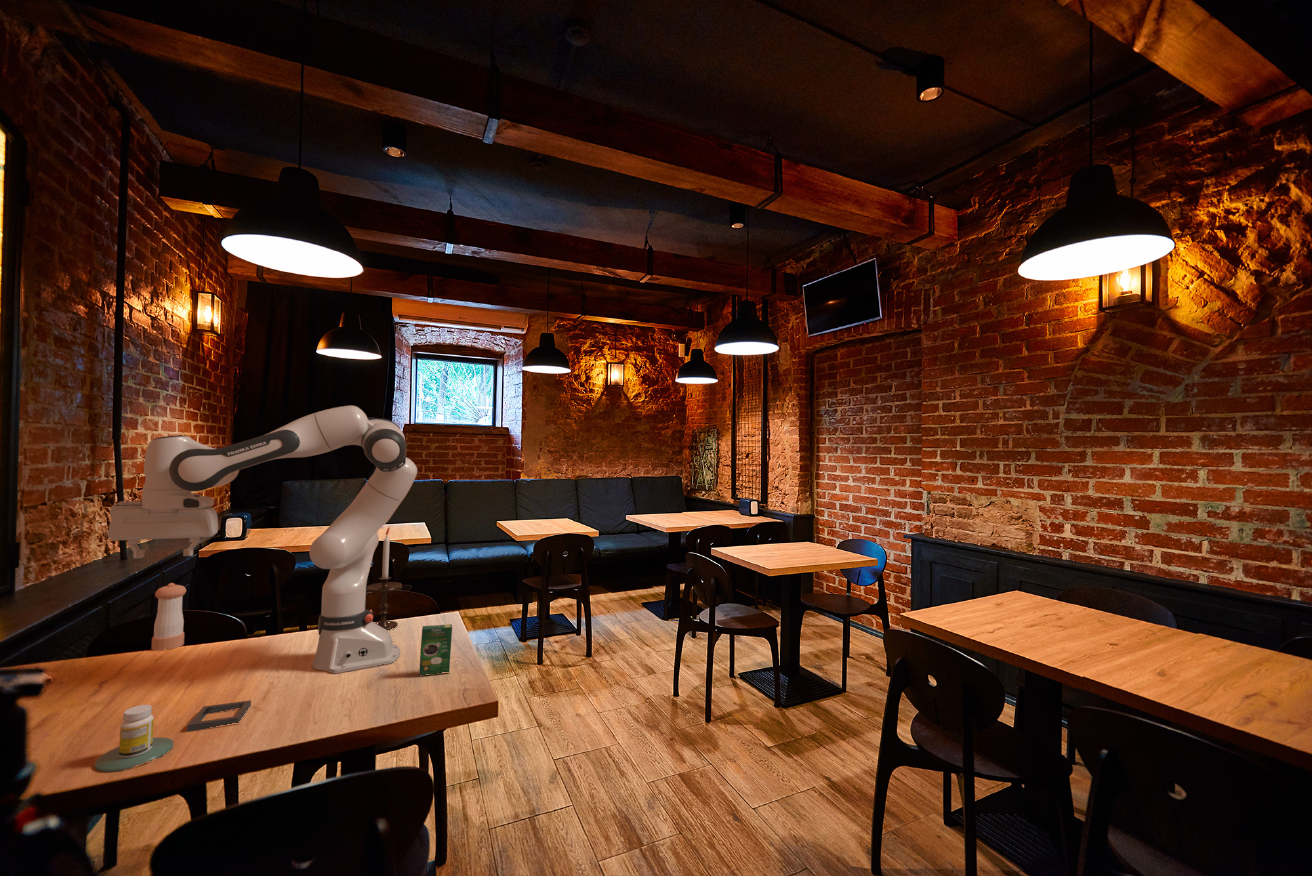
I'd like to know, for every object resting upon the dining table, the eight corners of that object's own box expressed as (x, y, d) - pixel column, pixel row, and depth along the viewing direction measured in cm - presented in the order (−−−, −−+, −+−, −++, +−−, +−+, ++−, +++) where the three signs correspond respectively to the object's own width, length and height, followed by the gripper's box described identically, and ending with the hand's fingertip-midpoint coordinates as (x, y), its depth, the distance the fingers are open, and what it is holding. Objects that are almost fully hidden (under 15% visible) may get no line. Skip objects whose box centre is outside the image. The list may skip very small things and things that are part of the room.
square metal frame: (250, 706, 125) (251, 700, 125) (238, 724, 117) (238, 717, 117) (203, 712, 122) (203, 706, 122) (186, 731, 113) (187, 725, 113)
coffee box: (450, 669, 149) (452, 623, 149) (450, 673, 146) (452, 626, 147) (419, 673, 146) (421, 625, 147) (418, 677, 143) (420, 628, 144)
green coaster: (182, 736, 112) (182, 733, 112) (158, 764, 101) (158, 761, 101) (114, 746, 107) (114, 743, 107) (81, 777, 97) (81, 773, 97)
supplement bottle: (133, 745, 107) (136, 703, 107) (158, 745, 107) (161, 703, 107) (111, 759, 102) (114, 715, 102) (137, 758, 102) (140, 714, 103)
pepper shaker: (165, 651, 157) (168, 587, 157) (144, 649, 158) (148, 585, 158) (190, 643, 164) (193, 581, 164) (170, 641, 165) (174, 579, 166)
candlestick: (398, 620, 190) (402, 523, 191) (402, 629, 181) (406, 527, 182) (364, 625, 184) (368, 525, 186) (366, 634, 175) (370, 529, 176)
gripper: (103, 502, 123) (100, 561, 123) (212, 501, 131) (209, 556, 131) (118, 500, 129) (115, 556, 129) (221, 499, 137) (219, 552, 137)
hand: (163, 556), depth 130 cm, fingers open, 8 cm apart
